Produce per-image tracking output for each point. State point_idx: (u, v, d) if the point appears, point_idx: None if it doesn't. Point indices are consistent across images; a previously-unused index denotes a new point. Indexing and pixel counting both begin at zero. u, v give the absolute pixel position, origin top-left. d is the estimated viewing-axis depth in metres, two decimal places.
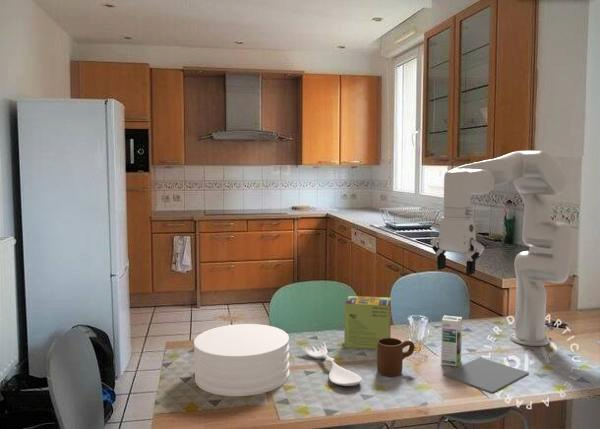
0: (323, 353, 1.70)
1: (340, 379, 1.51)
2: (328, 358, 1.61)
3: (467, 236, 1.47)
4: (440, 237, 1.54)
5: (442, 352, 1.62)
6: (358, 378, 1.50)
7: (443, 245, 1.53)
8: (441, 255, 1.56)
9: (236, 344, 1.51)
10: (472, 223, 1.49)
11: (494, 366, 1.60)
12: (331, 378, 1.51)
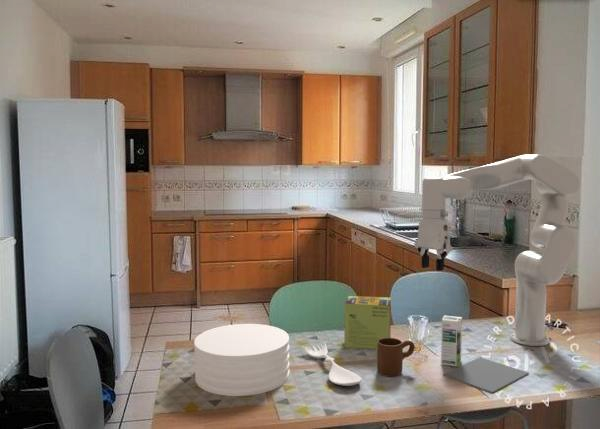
0: (323, 353, 1.70)
1: (339, 379, 1.51)
2: (328, 358, 1.61)
3: (442, 235, 1.69)
4: (419, 235, 1.75)
5: (442, 352, 1.62)
6: (357, 378, 1.50)
7: (421, 243, 1.75)
8: (425, 255, 1.76)
9: (236, 344, 1.51)
10: (446, 223, 1.70)
11: (494, 366, 1.60)
12: (331, 377, 1.51)
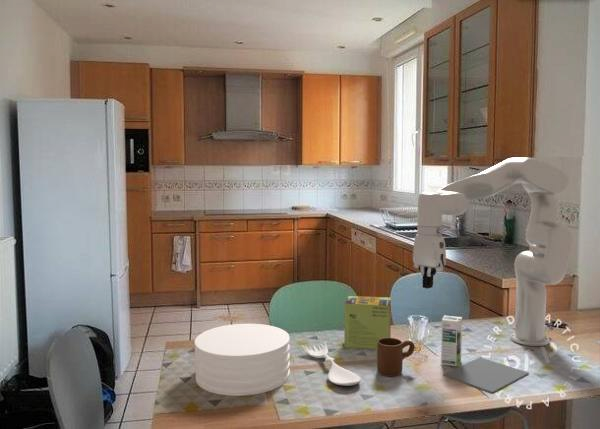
0: (324, 353, 1.70)
1: (339, 379, 1.51)
2: (328, 358, 1.61)
3: (437, 252, 1.63)
4: (414, 252, 1.70)
5: (442, 352, 1.62)
6: (357, 378, 1.50)
7: (417, 260, 1.69)
8: (426, 274, 1.69)
9: (236, 343, 1.51)
10: (442, 240, 1.64)
11: (494, 366, 1.60)
12: (330, 377, 1.51)
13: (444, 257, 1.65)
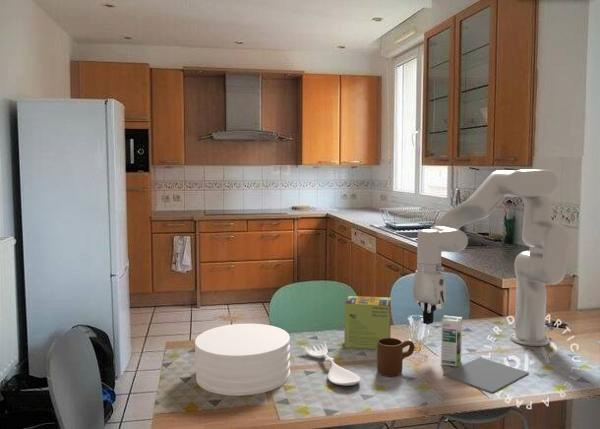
0: (323, 353, 1.70)
1: (339, 379, 1.51)
2: (328, 358, 1.61)
3: (437, 289, 1.64)
4: (414, 288, 1.71)
5: (442, 352, 1.62)
6: (357, 378, 1.50)
7: (417, 296, 1.70)
8: (426, 310, 1.70)
9: (237, 343, 1.51)
10: (442, 277, 1.66)
11: (494, 366, 1.60)
12: (330, 377, 1.51)
13: (444, 294, 1.66)
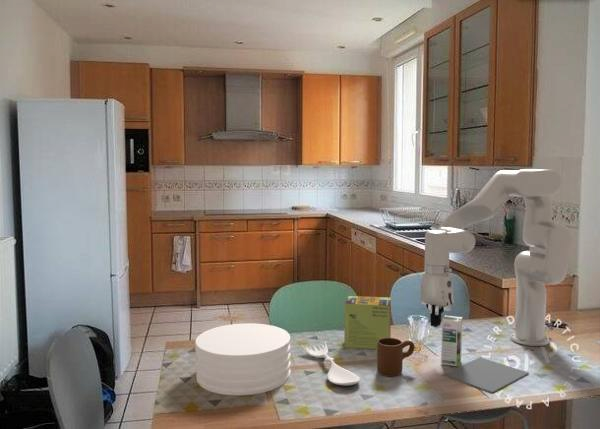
0: (323, 353, 1.70)
1: (338, 379, 1.51)
2: (328, 358, 1.61)
3: (445, 291, 1.62)
4: (422, 290, 1.69)
5: (442, 352, 1.62)
6: (356, 378, 1.50)
7: (424, 298, 1.68)
8: (434, 312, 1.68)
9: (237, 343, 1.51)
10: (450, 279, 1.63)
11: (494, 366, 1.60)
12: (329, 377, 1.51)
13: (452, 296, 1.64)
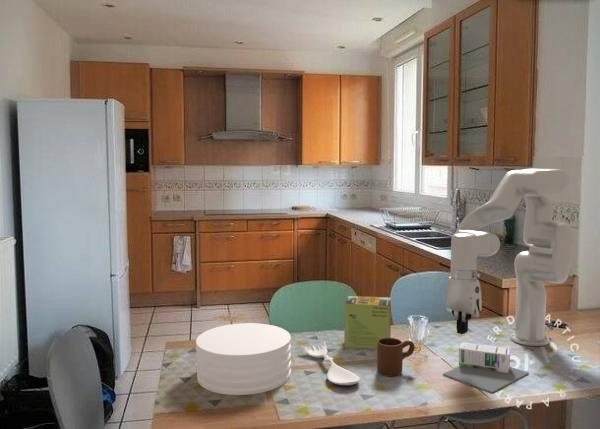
0: (323, 352, 1.71)
1: (338, 378, 1.51)
2: (327, 357, 1.61)
3: (473, 298, 1.55)
4: (447, 296, 1.61)
5: (472, 351, 1.59)
6: (356, 378, 1.50)
7: (450, 304, 1.61)
8: (460, 319, 1.60)
9: (238, 343, 1.52)
10: (478, 285, 1.56)
11: None
12: (329, 377, 1.51)
13: (480, 302, 1.57)
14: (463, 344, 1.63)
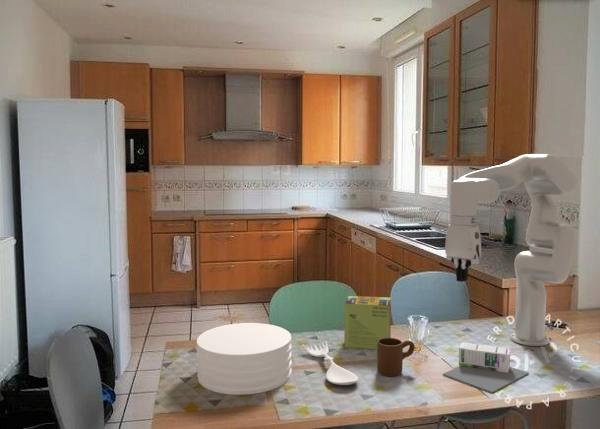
0: (324, 352, 1.71)
1: (337, 378, 1.52)
2: (327, 357, 1.62)
3: (473, 243, 1.53)
4: (447, 244, 1.60)
5: (472, 351, 1.59)
6: (355, 378, 1.50)
7: (450, 251, 1.59)
8: (460, 267, 1.59)
9: (238, 343, 1.52)
10: (478, 230, 1.55)
11: None
12: (328, 376, 1.52)
13: (480, 248, 1.55)
14: (463, 344, 1.63)
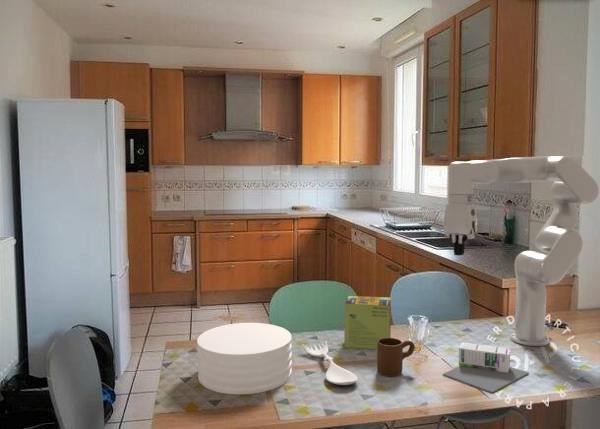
0: (324, 352, 1.71)
1: (336, 378, 1.52)
2: (327, 357, 1.62)
3: (469, 219, 1.67)
4: (445, 221, 1.74)
5: (472, 351, 1.59)
6: (354, 377, 1.50)
7: (448, 228, 1.73)
8: (457, 242, 1.73)
9: (239, 342, 1.52)
10: (473, 208, 1.69)
11: None
12: (328, 376, 1.52)
13: (475, 224, 1.69)
14: (463, 344, 1.63)
